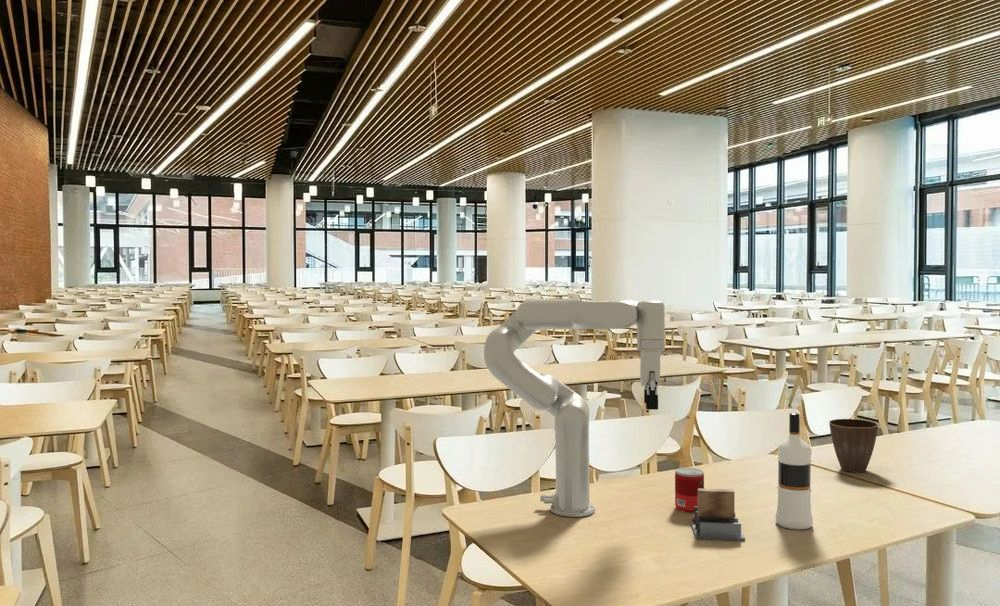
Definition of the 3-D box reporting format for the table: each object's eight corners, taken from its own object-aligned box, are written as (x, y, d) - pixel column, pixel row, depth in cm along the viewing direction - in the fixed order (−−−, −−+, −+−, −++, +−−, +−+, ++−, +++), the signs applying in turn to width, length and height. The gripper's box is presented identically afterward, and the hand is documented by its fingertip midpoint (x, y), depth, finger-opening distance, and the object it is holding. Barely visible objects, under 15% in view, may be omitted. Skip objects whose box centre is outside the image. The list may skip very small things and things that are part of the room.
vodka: (767, 522, 204) (768, 412, 203) (793, 517, 208) (793, 408, 207) (795, 533, 196) (795, 417, 194) (820, 527, 200) (821, 414, 198)
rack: (696, 539, 192) (696, 522, 192) (690, 521, 205) (690, 506, 205) (745, 541, 190) (745, 524, 190) (736, 523, 203) (736, 507, 203)
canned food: (704, 514, 212) (704, 475, 211) (675, 512, 213) (675, 473, 213) (703, 505, 219) (703, 468, 219) (674, 504, 221) (674, 466, 220)
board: (698, 528, 197) (698, 490, 197) (697, 525, 199) (697, 488, 199) (734, 529, 196) (734, 491, 196) (732, 527, 198) (733, 489, 198)
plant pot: (847, 477, 247) (848, 428, 246) (819, 465, 261) (819, 419, 261) (887, 474, 250) (888, 426, 249) (857, 463, 264) (858, 417, 264)
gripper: (635, 342, 220) (636, 400, 221) (638, 348, 203) (638, 411, 203) (662, 342, 219) (662, 401, 220) (667, 348, 202) (667, 412, 202)
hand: (651, 406), depth 211 cm, fingers open, 9 cm apart
